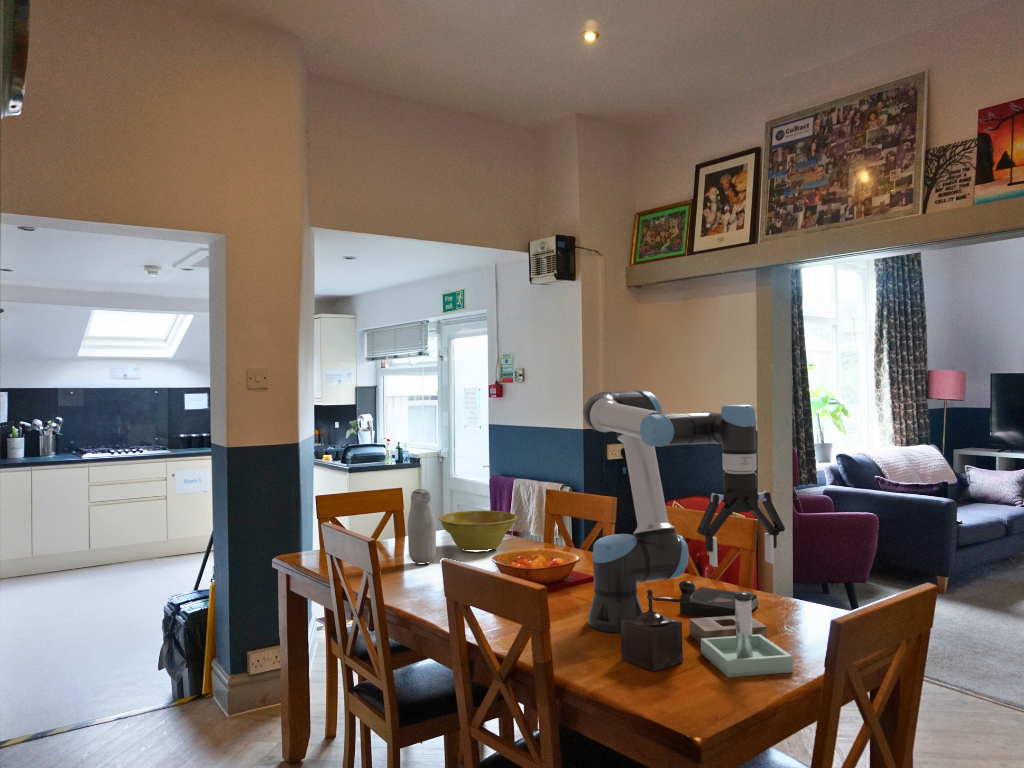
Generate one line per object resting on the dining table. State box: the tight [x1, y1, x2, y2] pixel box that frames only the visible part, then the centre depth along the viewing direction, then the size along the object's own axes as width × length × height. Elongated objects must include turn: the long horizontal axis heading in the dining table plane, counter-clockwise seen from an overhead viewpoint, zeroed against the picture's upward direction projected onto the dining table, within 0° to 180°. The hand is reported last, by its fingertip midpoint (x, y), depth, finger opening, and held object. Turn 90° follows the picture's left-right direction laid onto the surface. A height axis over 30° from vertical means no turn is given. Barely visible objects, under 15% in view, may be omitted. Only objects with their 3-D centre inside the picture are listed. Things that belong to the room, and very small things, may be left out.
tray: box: [700, 634, 794, 678], centre depth 167 cm, size 15×15×4 cm
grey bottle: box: [407, 488, 437, 564], centre depth 273 cm, size 10×10×28 cm
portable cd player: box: [679, 586, 760, 618], centre depth 207 cm, size 16×17×4 cm
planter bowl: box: [438, 510, 518, 550], centre depth 297 cm, size 32×32×13 cm
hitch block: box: [688, 616, 768, 644], centre depth 183 cm, size 16×10×4 cm, turn 98°
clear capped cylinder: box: [733, 590, 753, 659], centre depth 167 cm, size 4×4×15 cm
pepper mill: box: [620, 580, 697, 673], centre depth 170 cm, size 16×11×18 cm
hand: (741, 564), depth 167 cm, fingers open, 13 cm apart
